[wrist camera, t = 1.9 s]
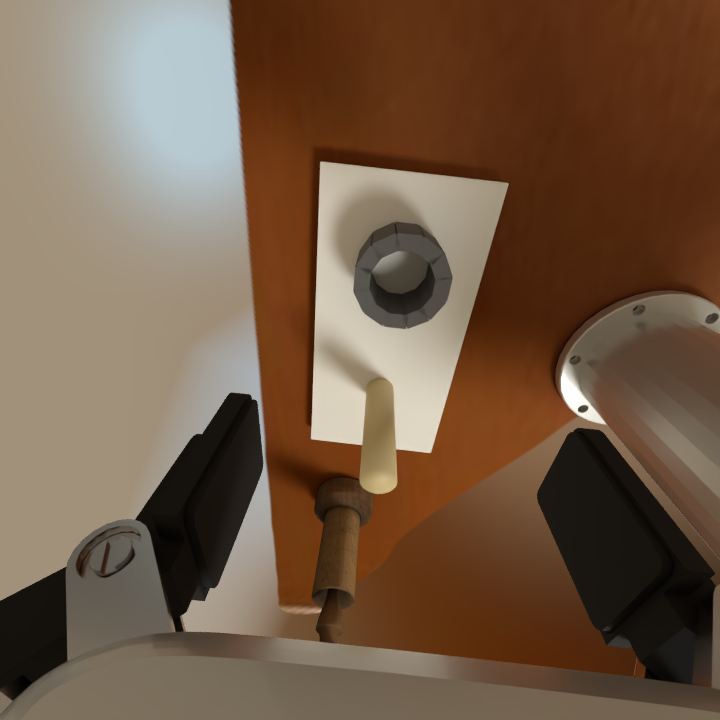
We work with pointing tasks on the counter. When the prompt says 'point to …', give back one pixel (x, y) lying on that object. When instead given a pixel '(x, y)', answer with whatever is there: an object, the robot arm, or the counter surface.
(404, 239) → the ring
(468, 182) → the post board
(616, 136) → the counter surface
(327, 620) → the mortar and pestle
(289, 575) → the counter surface
